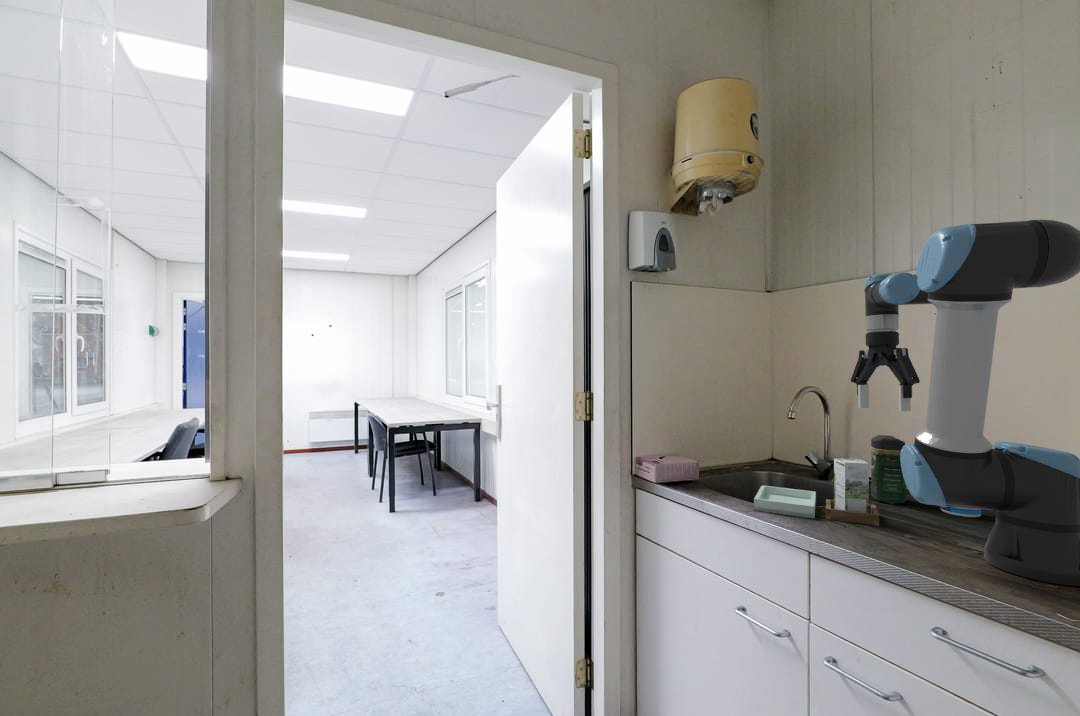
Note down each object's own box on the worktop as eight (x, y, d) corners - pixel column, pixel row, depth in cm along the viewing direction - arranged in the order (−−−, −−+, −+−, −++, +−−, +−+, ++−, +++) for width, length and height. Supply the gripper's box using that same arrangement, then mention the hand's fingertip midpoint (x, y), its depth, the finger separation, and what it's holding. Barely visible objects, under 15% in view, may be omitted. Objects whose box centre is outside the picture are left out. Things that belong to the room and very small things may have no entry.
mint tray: (814, 518, 123) (814, 506, 123) (754, 510, 130) (754, 498, 130) (815, 502, 139) (815, 491, 139) (761, 495, 146) (761, 485, 146)
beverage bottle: (968, 519, 123) (967, 439, 124) (932, 510, 131) (931, 435, 132) (990, 516, 126) (989, 438, 127) (953, 507, 134) (952, 434, 135)
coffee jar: (909, 506, 136) (908, 438, 136) (875, 502, 139) (874, 436, 139) (900, 497, 144) (900, 434, 145) (868, 494, 148) (868, 432, 148)
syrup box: (856, 513, 128) (856, 457, 128) (869, 520, 122) (869, 462, 122) (833, 513, 128) (833, 457, 129) (845, 519, 122) (844, 461, 123)
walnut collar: (879, 526, 118) (879, 515, 118) (826, 518, 123) (826, 508, 123) (875, 514, 127) (875, 504, 127) (826, 508, 133) (826, 499, 133)
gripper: (936, 327, 123) (937, 412, 122) (859, 335, 147) (860, 406, 147) (909, 326, 122) (910, 412, 121) (836, 335, 146) (837, 406, 146)
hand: (883, 409), depth 134 cm, fingers open, 13 cm apart
